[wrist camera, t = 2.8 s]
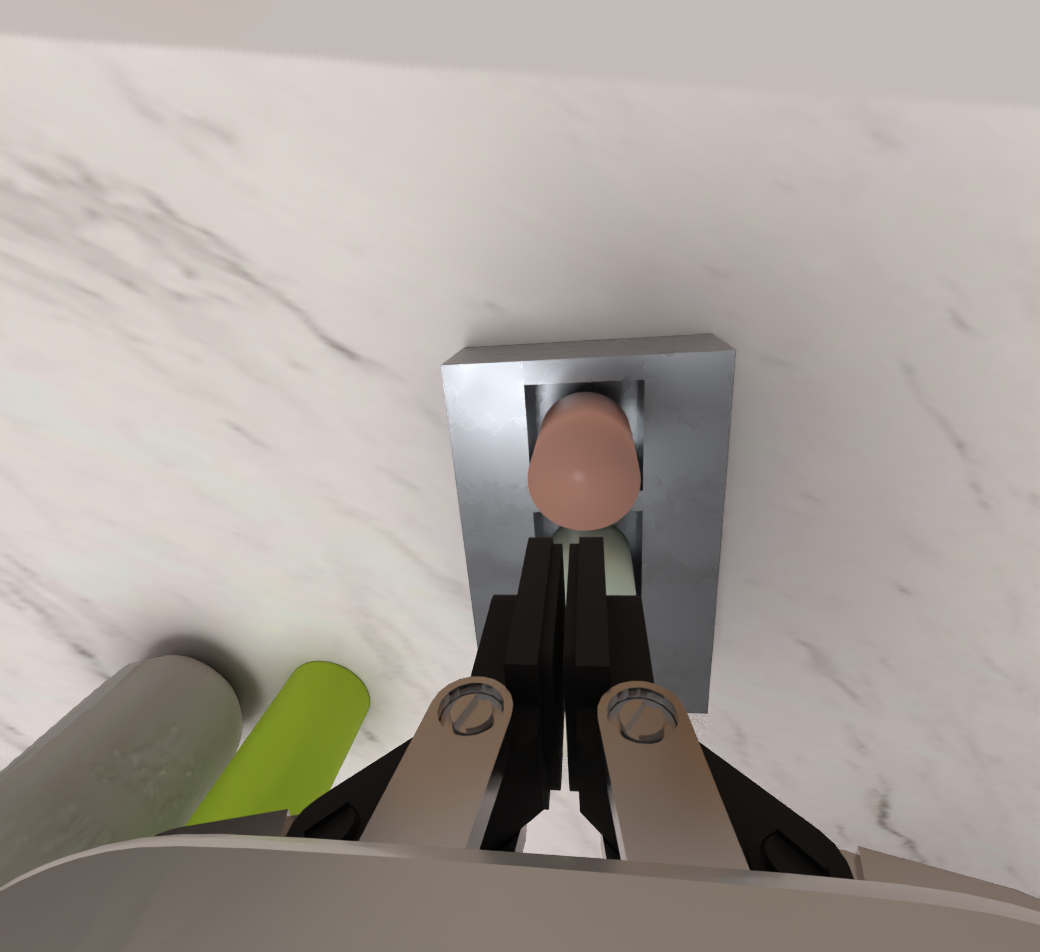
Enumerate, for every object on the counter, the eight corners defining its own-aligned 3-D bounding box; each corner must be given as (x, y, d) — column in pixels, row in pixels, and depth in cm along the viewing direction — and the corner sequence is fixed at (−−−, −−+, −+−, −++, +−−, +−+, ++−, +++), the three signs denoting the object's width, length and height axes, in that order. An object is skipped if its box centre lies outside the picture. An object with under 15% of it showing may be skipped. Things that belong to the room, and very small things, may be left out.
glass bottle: (112, 667, 39) (-789, 1451, 14) (196, 607, 36) (-787, 1493, 10) (211, 753, 42) (-396, 1557, 16) (298, 704, 38) (-293, 1619, 13)
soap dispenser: (396, 694, 37) (202, 1135, 18) (335, 736, 39) (111, 1163, 21) (332, 639, 36) (57, 1053, 17) (273, 687, 38) (-23, 1093, 20)
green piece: (630, 516, 25) (639, 577, 20) (630, 589, 26) (638, 660, 22) (545, 517, 25) (534, 576, 21) (549, 588, 27) (540, 657, 22)
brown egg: (631, 389, 23) (641, 425, 18) (631, 476, 24) (640, 530, 19) (537, 393, 23) (523, 429, 19) (542, 478, 25) (531, 531, 20)
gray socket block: (712, 333, 25) (736, 350, 21) (692, 654, 32) (707, 713, 28) (463, 347, 27) (440, 365, 23) (497, 649, 34) (485, 704, 30)
